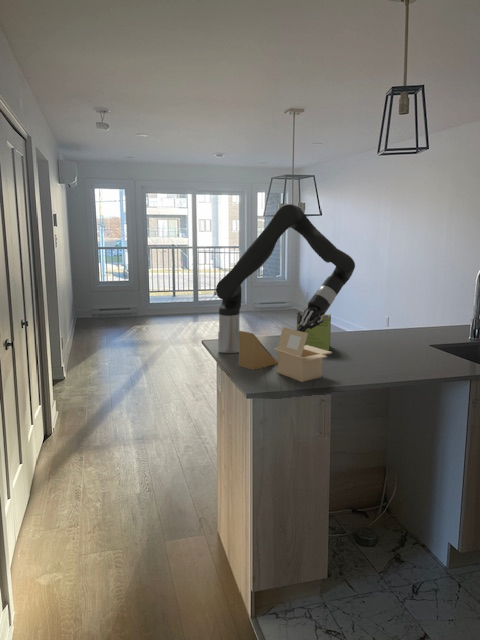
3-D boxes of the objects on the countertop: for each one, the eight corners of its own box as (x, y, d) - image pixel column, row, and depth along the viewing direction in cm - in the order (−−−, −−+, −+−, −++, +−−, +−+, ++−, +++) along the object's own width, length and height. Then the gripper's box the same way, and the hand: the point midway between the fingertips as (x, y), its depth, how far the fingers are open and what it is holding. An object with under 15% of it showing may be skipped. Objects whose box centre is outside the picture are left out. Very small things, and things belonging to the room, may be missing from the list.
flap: (277, 349, 187) (276, 349, 187) (283, 327, 188) (282, 326, 187) (301, 357, 176) (300, 356, 176) (308, 333, 177) (306, 332, 176)
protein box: (329, 351, 223) (330, 317, 220) (295, 349, 226) (296, 316, 223) (330, 345, 233) (331, 313, 230) (297, 344, 236) (298, 312, 233)
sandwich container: (279, 363, 203) (280, 328, 200) (253, 370, 193) (253, 333, 190) (264, 359, 209) (265, 325, 207) (238, 366, 199) (238, 330, 196)
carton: (272, 371, 192) (273, 348, 190) (301, 365, 200) (302, 343, 199) (307, 384, 176) (308, 359, 174) (337, 376, 184) (337, 353, 182)
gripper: (305, 291, 191) (280, 326, 186) (329, 295, 180) (304, 332, 176) (315, 304, 195) (291, 338, 190) (339, 308, 184) (314, 344, 180)
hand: (297, 335), depth 183 cm, fingers closed
